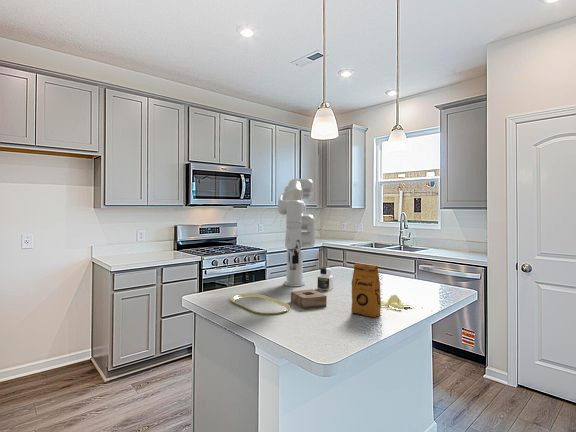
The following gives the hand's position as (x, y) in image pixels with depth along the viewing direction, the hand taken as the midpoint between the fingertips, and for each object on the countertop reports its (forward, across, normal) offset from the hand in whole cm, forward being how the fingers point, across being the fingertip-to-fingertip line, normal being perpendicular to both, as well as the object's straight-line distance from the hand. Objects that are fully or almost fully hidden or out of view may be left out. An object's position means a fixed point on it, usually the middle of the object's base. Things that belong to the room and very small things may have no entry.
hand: (293, 262), depth 170 cm
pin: (+3, 0, 0) cm, 3 cm away
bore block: (+19, +6, +6) cm, 21 cm away
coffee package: (+20, +29, +22) cm, 42 cm away
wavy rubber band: (+20, -1, -17) cm, 26 cm away
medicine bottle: (+20, -19, +29) cm, 40 cm away
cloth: (+20, +24, +42) cm, 53 cm away
